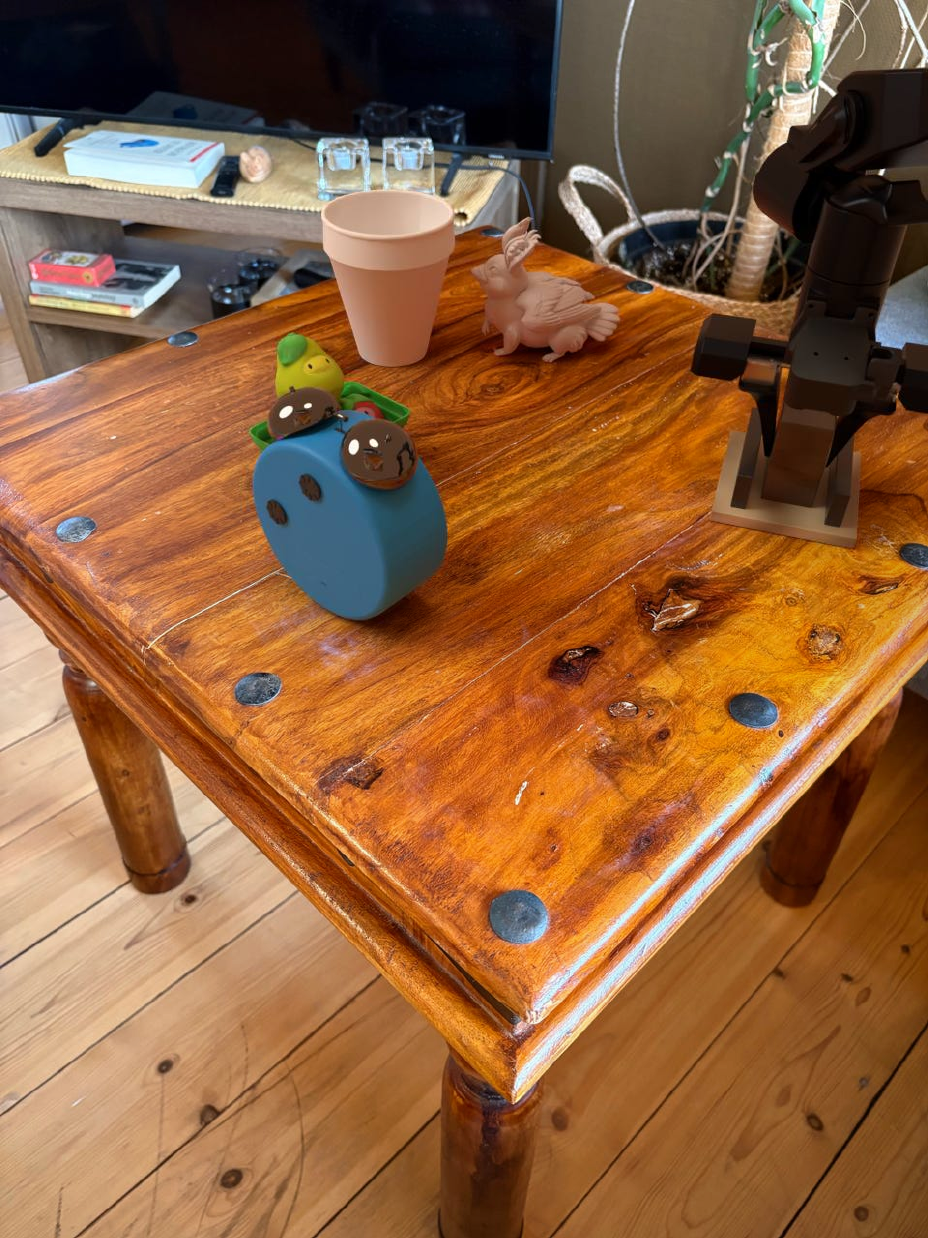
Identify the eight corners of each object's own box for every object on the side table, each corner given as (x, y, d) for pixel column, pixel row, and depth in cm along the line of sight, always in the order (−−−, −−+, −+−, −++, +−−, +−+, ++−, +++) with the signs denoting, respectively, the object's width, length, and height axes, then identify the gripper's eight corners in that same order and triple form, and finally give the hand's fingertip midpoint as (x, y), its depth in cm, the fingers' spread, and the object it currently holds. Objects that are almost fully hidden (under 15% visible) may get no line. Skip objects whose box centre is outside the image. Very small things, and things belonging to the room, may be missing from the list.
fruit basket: (313, 521, 77) (299, 391, 70) (242, 477, 82) (222, 350, 74) (416, 464, 84) (414, 339, 76) (345, 426, 88) (337, 304, 81)
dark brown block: (818, 463, 83) (841, 387, 78) (813, 508, 78) (837, 431, 73) (768, 454, 84) (787, 379, 79) (760, 498, 79) (780, 421, 74)
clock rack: (858, 462, 85) (871, 421, 82) (853, 549, 76) (868, 506, 73) (729, 439, 88) (738, 398, 85) (709, 520, 78) (718, 478, 76)
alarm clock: (450, 612, 70) (452, 424, 60) (389, 657, 66) (380, 466, 56) (322, 537, 76) (304, 356, 66) (260, 575, 72) (231, 390, 62)
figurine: (463, 333, 102) (466, 208, 94) (604, 324, 104) (618, 201, 96) (477, 370, 96) (481, 240, 88) (626, 360, 98) (643, 232, 90)
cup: (306, 360, 97) (292, 218, 88) (375, 313, 105) (369, 179, 96) (412, 392, 93) (409, 246, 84) (476, 341, 101) (479, 203, 92)
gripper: (699, 294, 66) (663, 491, 76) (1000, 339, 61) (919, 540, 72) (720, 235, 74) (685, 420, 84) (988, 271, 69) (917, 461, 80)
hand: (795, 459), depth 80 cm, fingers closed on dark brown block, 4 cm apart
